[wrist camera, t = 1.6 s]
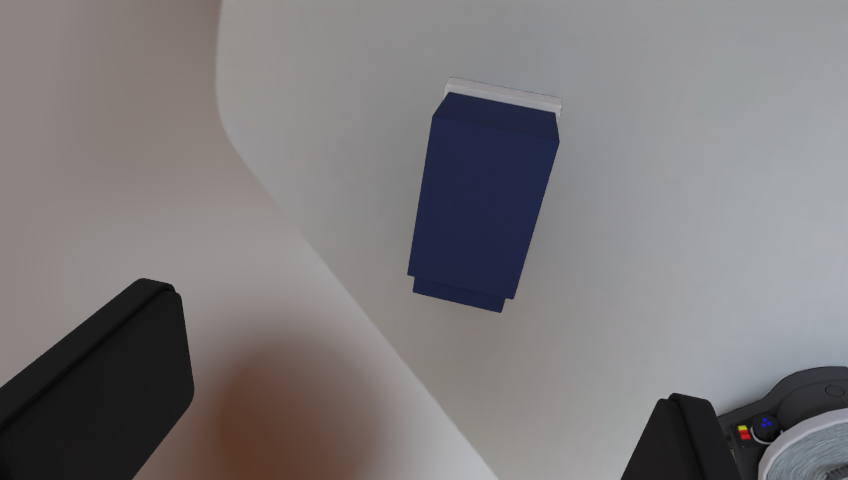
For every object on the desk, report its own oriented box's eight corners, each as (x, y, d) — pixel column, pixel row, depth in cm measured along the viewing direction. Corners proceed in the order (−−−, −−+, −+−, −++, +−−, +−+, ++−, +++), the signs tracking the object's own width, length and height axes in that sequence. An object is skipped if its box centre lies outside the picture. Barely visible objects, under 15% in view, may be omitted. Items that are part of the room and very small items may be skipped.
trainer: (450, 76, 23) (428, 105, 18) (560, 98, 23) (568, 133, 18) (418, 262, 28) (394, 323, 23) (508, 283, 28) (503, 349, 23)
